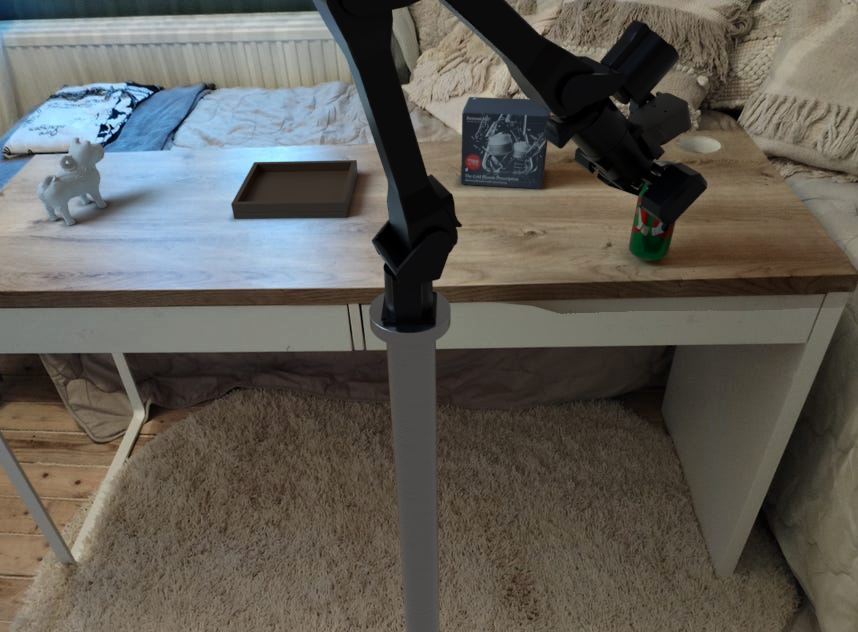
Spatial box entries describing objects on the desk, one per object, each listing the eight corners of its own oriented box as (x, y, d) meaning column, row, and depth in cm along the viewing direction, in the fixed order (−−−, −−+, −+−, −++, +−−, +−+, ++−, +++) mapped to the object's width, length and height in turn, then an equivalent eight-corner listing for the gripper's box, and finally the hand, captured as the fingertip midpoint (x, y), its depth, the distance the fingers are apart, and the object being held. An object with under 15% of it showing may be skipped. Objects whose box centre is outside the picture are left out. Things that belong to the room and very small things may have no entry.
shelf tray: (346, 217, 108) (344, 202, 106) (234, 218, 109) (231, 203, 108) (357, 174, 120) (356, 160, 118) (256, 175, 121) (254, 162, 120)
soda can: (672, 249, 94) (692, 163, 86) (661, 266, 91) (681, 178, 83) (634, 240, 96) (651, 155, 89) (622, 257, 93) (638, 170, 85)
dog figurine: (125, 195, 118) (106, 133, 112) (66, 229, 110) (42, 164, 103) (102, 190, 120) (83, 129, 114) (43, 223, 112) (17, 158, 105)
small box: (459, 185, 114) (460, 111, 106) (465, 168, 119) (467, 96, 112) (542, 190, 111) (549, 114, 104) (545, 171, 116) (552, 98, 109)
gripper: (714, 101, 71) (770, 184, 80) (608, 54, 85) (667, 129, 94) (633, 188, 74) (697, 258, 84) (544, 129, 88) (607, 195, 97)
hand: (666, 205), depth 90 cm, fingers closed on soda can, 5 cm apart
